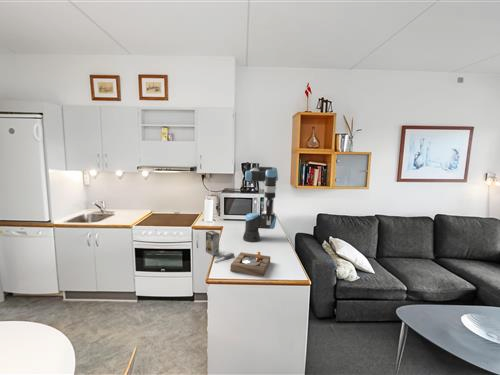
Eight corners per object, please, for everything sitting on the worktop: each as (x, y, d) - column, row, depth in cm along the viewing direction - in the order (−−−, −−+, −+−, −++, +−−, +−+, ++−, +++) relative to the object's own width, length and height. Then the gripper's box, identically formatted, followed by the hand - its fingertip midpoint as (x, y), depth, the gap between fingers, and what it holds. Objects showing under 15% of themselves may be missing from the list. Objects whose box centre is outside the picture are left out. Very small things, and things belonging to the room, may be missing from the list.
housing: (240, 257, 188) (240, 251, 187) (270, 262, 182) (270, 256, 181) (230, 271, 167) (230, 264, 166) (263, 276, 161) (264, 269, 160)
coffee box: (205, 252, 196) (205, 231, 193) (212, 250, 200) (212, 230, 198) (212, 255, 189) (212, 234, 187) (219, 253, 194) (219, 233, 191)
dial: (240, 266, 169) (240, 254, 167) (243, 258, 181) (244, 247, 180) (259, 268, 167) (260, 256, 166) (261, 260, 179) (261, 249, 178)
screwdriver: (231, 255, 191) (231, 252, 191) (233, 256, 189) (233, 253, 189) (213, 262, 179) (213, 259, 179) (215, 263, 177) (215, 260, 177)
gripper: (273, 193, 171) (272, 227, 174) (277, 191, 184) (275, 222, 187) (262, 192, 173) (261, 226, 176) (266, 190, 185) (265, 221, 189)
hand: (268, 224), depth 182 cm, fingers closed
